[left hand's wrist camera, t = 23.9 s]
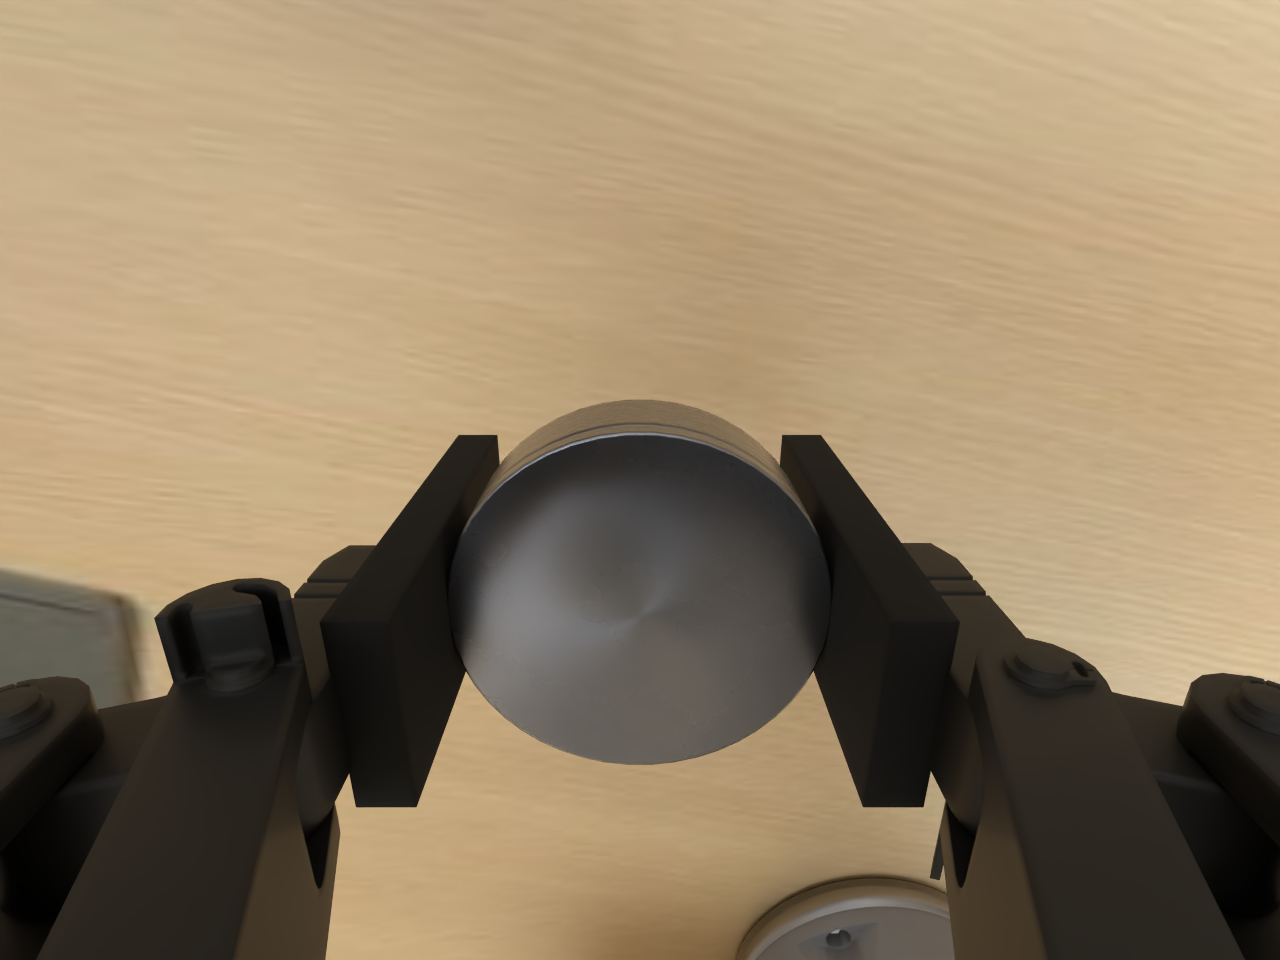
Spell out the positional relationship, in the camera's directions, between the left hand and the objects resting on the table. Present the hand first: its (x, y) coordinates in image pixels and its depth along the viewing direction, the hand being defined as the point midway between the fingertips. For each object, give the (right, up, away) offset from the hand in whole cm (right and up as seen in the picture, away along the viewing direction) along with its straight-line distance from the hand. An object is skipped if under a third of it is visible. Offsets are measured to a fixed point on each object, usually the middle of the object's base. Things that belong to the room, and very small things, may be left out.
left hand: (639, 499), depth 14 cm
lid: (0, -1, -4) cm, 4 cm away
